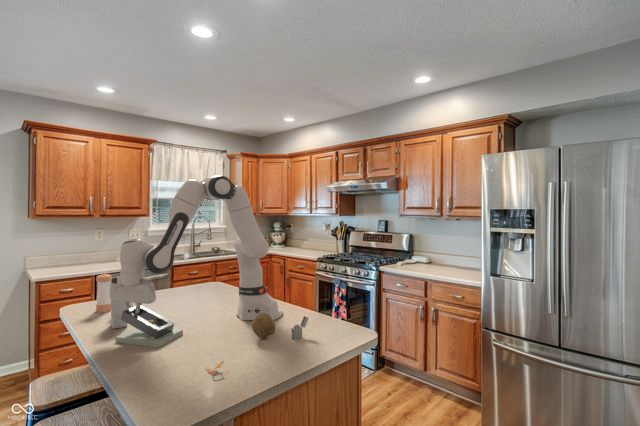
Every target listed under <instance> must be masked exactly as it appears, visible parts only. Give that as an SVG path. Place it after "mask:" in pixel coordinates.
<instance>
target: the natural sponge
mask: <svg viewBox="0 0 640 426" xmlns="http://www.w3.org/2000/svg"><path fill="white" fill-rule="evenodd" d="M274 322H275V321H274V320H272V318H271V317H270V316H269V315H267V314H265V313H262V314H259V315H258V316H256V317H255V319H254V320H252V323H251V328H252V331H253V333H254V334H255V336H257V337H258V338H259V339H260V340H266V339H268V337H271V336H272V335H274V333H276V326H275V323H274Z"/></svg>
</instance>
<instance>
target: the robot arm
mask: <svg viewBox="0 0 640 426" xmlns="http://www.w3.org/2000/svg"><path fill="white" fill-rule="evenodd" d="M204 200H209V201H220V200H223V202H224V203H225V205H226V206H227V212H228V214H229V218H230V221H231V224H232V228H233V230H235V232H236V234H237V235H238V236H237V238H236V239H235V240H234V249H235V252H236V258H237V263H238V269H239V285H238V297H239V298H238V307H237V311H236V317H238V318H239V319H240V320H242V321H253V320H254V319H255V317H256V316H258V315H259V314H262V313H265V314H267V315H269V316H270V317H271V318H272V320H273V321H274V320H275V321H276V320H277V319H279V318H280V317H282V316H283V315H284V312H283V310H282V309H279V304H278V301H277V300H276V299H275V298H273V297H272V296H271V295H270V294H269V293H267V290H268V286H264V283H263V281H264V280H263V277H264V276H263V267H262V265H261V261H260V259H262V258H264V257H266V256H267V254H268V253H269V250H270V246H269V243H268V241H267V240H266V239H265V237H264V235H263V233H262V231H261V229H260V227H259V225H258V223H257V220H256V217H255V214H254V211H253V208H252V204H251V201H250V198H249V195H248V194H247V191H246V190H245V188H244V187H243V186H240V185H235V184H234V183H233V181H231V180H230V178H229V177H227V176H224V175H223V174H222V175H221V174H219V175H212V176H210V177H207V178H206V179H203V180H202V181H199V180H196V179H187V180H186V181H185V182H184V183H183V184H182V185H181V186H180V188H179V189H178V191H177V192H176V194H175V195H174V197H173V199H172V201H171V203H170V206H169V207H168V218H169V222H168V226H167V228H166V230H165V233H164V235H163V236H162V238H161V239H160V242H159V244H158V245H156V244H152V243H149V242H147V241H145V240H143V239H142V238H132V239H128V240H126V241H124V242H123V243H122V244H121V246H120V252H119V263H120V271H119V275H117V276H114V277H113V276H112V278H111V279H110V299H111V300H112V301H123V302H124V306H125V307H126V310H128V309H131V308H134V306H133V307H131V306H130V303H131V302H133V304H134V303H135V307H136V308H135V309H133V311H134V312H133V313H139V312H140V307H141V306H143V304H147V305H150V304H153V303H155V302H156V301H157V296H156V288H155V283H154V281H152V280H151V279H146V278H145V276H146V275H145V273H146V269H148V271H149V272H150V273H153V274H164V273H167V272H168V271H169V270H171V268H172V267H173V264H174V263H175V262H174V261H175V252H176V250H177V246H178V245H179V243H180V241H181V238H182V236H183V234H184V233H185V230H186V228H187V227H188V225H189V224H190V222H192V219H193V218H194V217H195V215H196V213H197V212H198V209H199V208H200V205H201V204H202V203H203V201H204Z"/></svg>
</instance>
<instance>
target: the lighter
mask: <svg viewBox="0 0 640 426" xmlns="http://www.w3.org/2000/svg"><path fill="white" fill-rule="evenodd" d="M308 320H309V317H307V316H305V315H303V317H302V320H301V323H300V324H298V323H297V324H294V326H293V327H291V340H292V341H293V340H295V341H296V340H298V339H302V338H303V328H306V326H307V323H308Z"/></svg>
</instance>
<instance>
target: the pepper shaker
mask: <svg viewBox="0 0 640 426" xmlns="http://www.w3.org/2000/svg"><path fill="white" fill-rule="evenodd" d="M111 278H113V276H112V275H111V274H108V273H106V272H103V273H102V274H100V275H97V276H96V278H95V281H96V282H97V294H96V305H95V311H96V313H107V312H111V299H110V285H111V283H110V279H111Z"/></svg>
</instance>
